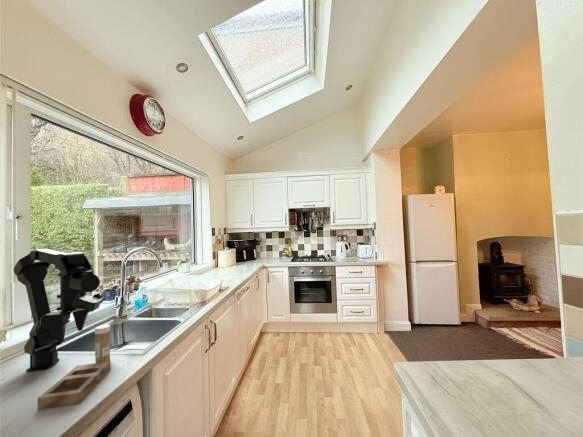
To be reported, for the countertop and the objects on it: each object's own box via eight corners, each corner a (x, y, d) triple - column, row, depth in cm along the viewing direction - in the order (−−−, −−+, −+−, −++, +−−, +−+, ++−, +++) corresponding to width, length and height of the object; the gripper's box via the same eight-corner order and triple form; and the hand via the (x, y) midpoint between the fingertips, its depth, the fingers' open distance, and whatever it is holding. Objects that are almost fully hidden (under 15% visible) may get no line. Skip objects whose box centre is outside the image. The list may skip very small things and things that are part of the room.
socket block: (37, 409, 69) (37, 398, 69) (77, 374, 86) (77, 365, 86) (79, 403, 71) (79, 392, 71) (110, 370, 88) (110, 361, 88)
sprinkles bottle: (110, 364, 92) (109, 326, 92) (94, 368, 89) (93, 330, 90) (110, 359, 95) (110, 323, 96) (95, 363, 93) (95, 326, 93)
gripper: (79, 295, 79) (79, 346, 79) (112, 282, 97) (112, 323, 97) (38, 297, 77) (38, 350, 77) (79, 284, 96) (79, 326, 95)
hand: (71, 336), depth 87 cm, fingers open, 9 cm apart
